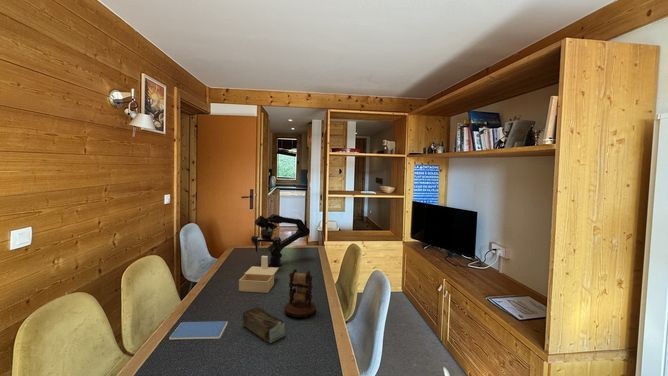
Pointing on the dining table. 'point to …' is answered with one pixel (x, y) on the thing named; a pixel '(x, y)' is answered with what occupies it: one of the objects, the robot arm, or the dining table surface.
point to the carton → (256, 283)
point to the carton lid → (262, 268)
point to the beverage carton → (264, 324)
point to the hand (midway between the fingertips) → (263, 252)
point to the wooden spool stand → (300, 295)
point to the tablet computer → (199, 330)
